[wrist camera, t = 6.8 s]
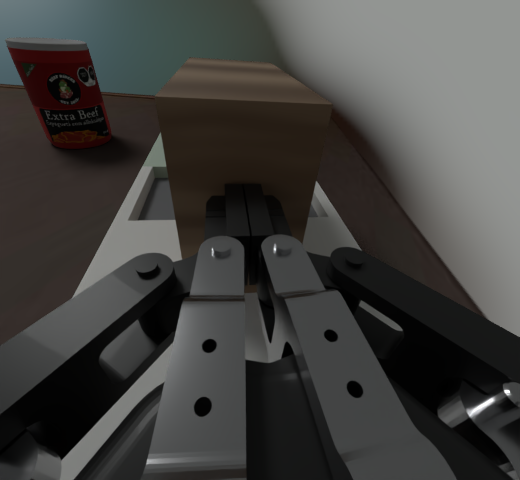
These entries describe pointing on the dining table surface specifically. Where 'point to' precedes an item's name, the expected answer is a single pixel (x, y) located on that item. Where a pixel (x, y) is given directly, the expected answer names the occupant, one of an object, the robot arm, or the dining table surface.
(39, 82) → the canned food
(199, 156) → the walnut block
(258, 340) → the trap lane
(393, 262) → the dining table surface
